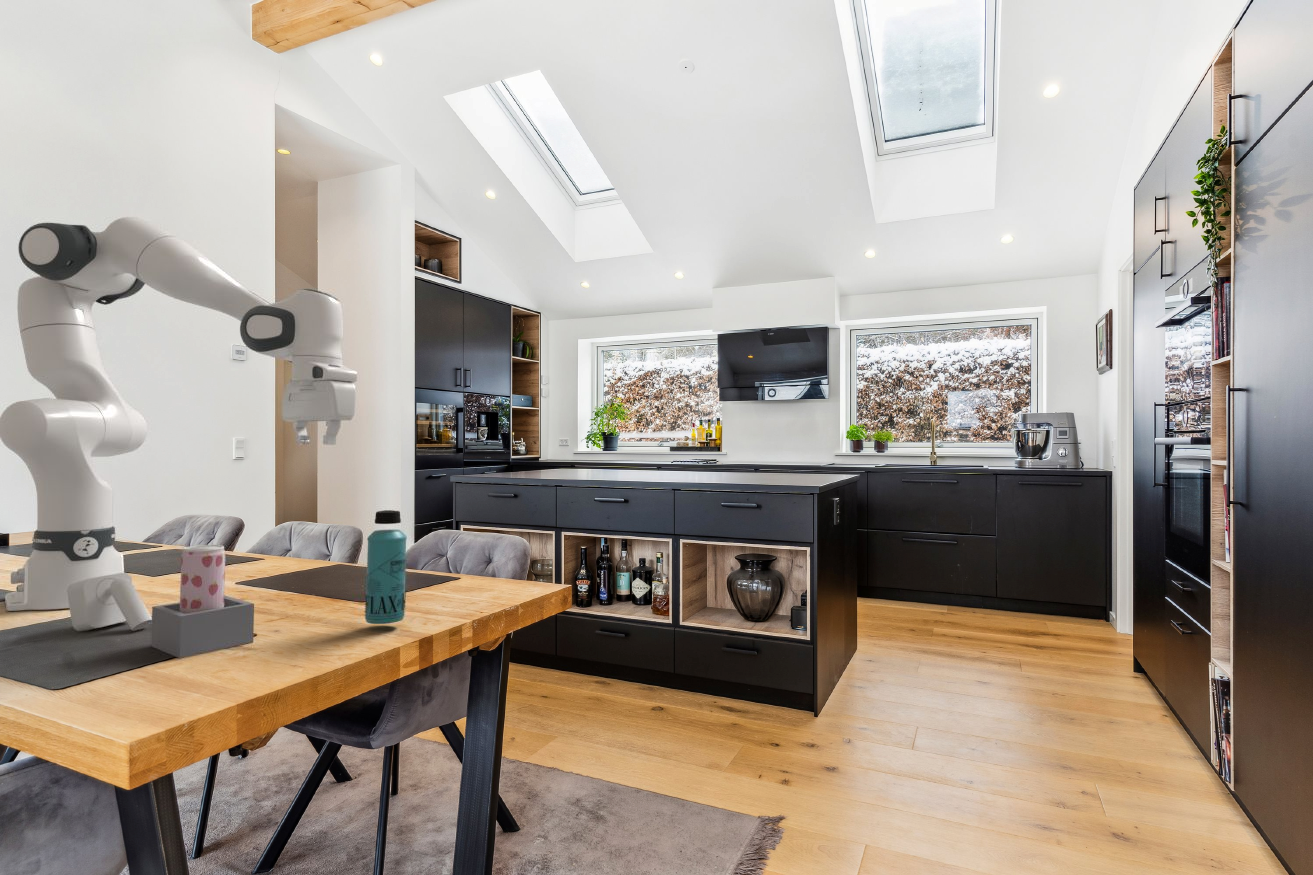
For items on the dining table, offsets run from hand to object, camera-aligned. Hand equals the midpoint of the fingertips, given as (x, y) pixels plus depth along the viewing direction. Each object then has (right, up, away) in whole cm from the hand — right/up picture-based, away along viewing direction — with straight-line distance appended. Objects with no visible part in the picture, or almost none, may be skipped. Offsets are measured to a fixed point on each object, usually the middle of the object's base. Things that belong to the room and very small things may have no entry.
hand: (316, 444), depth 130 cm
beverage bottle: (+20, -31, -16) cm, 41 cm away
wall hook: (-23, -31, -19) cm, 43 cm away
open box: (-4, -31, -27) cm, 41 cm away
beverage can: (-4, -31, -27) cm, 41 cm away
